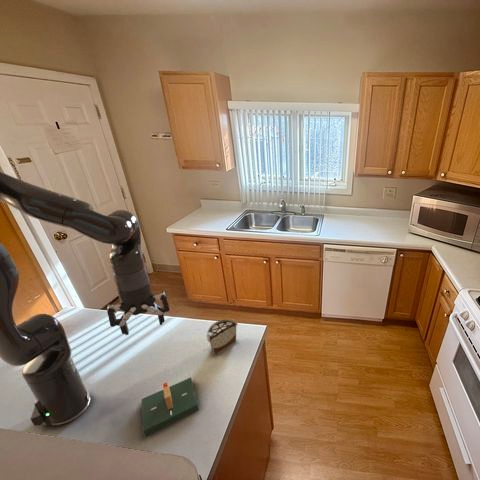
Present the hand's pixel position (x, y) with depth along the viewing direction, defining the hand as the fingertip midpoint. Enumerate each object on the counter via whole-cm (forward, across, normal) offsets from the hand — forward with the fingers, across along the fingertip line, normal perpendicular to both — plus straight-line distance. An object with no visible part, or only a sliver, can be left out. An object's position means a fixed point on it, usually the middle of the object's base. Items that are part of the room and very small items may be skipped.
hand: (144, 328), depth 76 cm
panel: (+24, +2, -11) cm, 26 cm away
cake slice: (+24, +22, +6) cm, 33 cm away
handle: (+22, +2, -11) cm, 24 cm away
